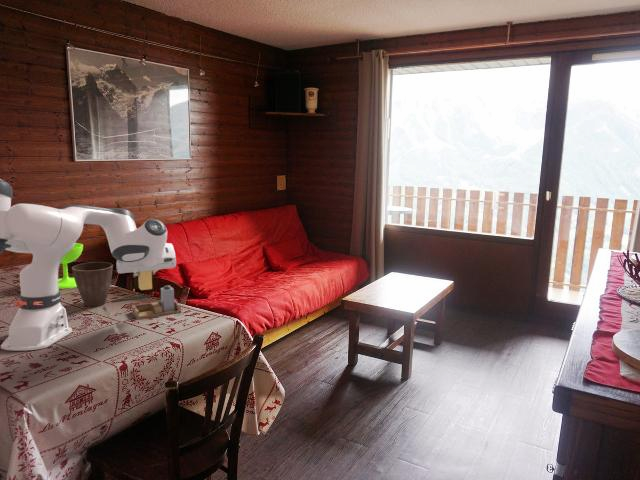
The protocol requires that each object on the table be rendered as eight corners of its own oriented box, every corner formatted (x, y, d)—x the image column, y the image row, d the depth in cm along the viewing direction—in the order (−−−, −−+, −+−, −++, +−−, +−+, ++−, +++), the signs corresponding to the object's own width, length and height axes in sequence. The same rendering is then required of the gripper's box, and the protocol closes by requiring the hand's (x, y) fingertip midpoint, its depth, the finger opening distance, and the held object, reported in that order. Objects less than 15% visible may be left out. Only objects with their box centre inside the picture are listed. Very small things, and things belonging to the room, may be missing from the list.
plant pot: (67, 309, 185) (64, 270, 182) (84, 297, 200) (82, 261, 197) (105, 310, 186) (103, 271, 183) (120, 298, 201) (118, 262, 198)
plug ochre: (152, 288, 174) (151, 262, 172) (140, 290, 172) (139, 263, 170) (149, 286, 178) (148, 260, 176) (138, 287, 175) (137, 261, 174)
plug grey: (174, 311, 184) (173, 286, 182) (164, 313, 182) (163, 288, 180) (171, 308, 187) (170, 284, 185) (161, 310, 185) (160, 285, 183)
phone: (153, 299, 199) (116, 305, 190) (153, 302, 199) (116, 308, 190) (146, 294, 205) (110, 300, 196) (147, 297, 205) (110, 302, 196)
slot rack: (181, 315, 183) (181, 305, 182) (137, 322, 174) (136, 312, 173) (174, 308, 190) (174, 299, 190) (131, 315, 182) (131, 305, 181)
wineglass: (51, 280, 224) (48, 243, 221) (88, 278, 229) (85, 242, 226) (42, 289, 209) (39, 250, 206) (82, 287, 214) (79, 249, 211)
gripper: (118, 263, 158) (115, 284, 167) (180, 258, 168) (173, 277, 178) (116, 248, 160) (113, 269, 170) (176, 243, 171) (170, 263, 181)
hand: (144, 273), depth 174 cm, fingers closed on plug ochre, 4 cm apart
